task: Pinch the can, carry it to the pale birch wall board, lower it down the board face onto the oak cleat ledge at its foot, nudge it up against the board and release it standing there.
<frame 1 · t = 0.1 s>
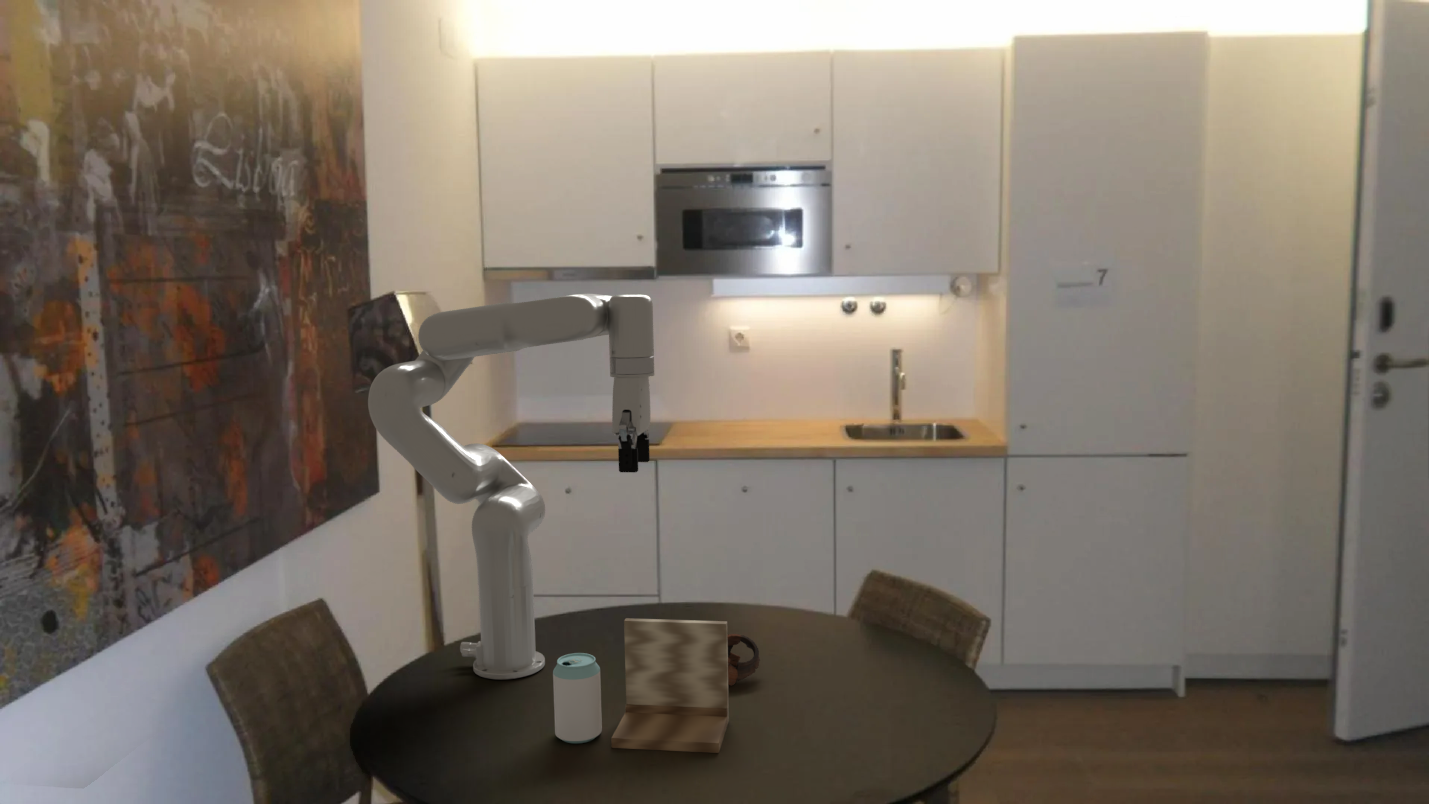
hand: (634, 466, 179), 37 cm above the table, tool pointing down, fingers open, 9 cm apart
vr controller: (725, 676, 181), on the table
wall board: (677, 719, 163), on the table
can: (578, 736, 158), on the table
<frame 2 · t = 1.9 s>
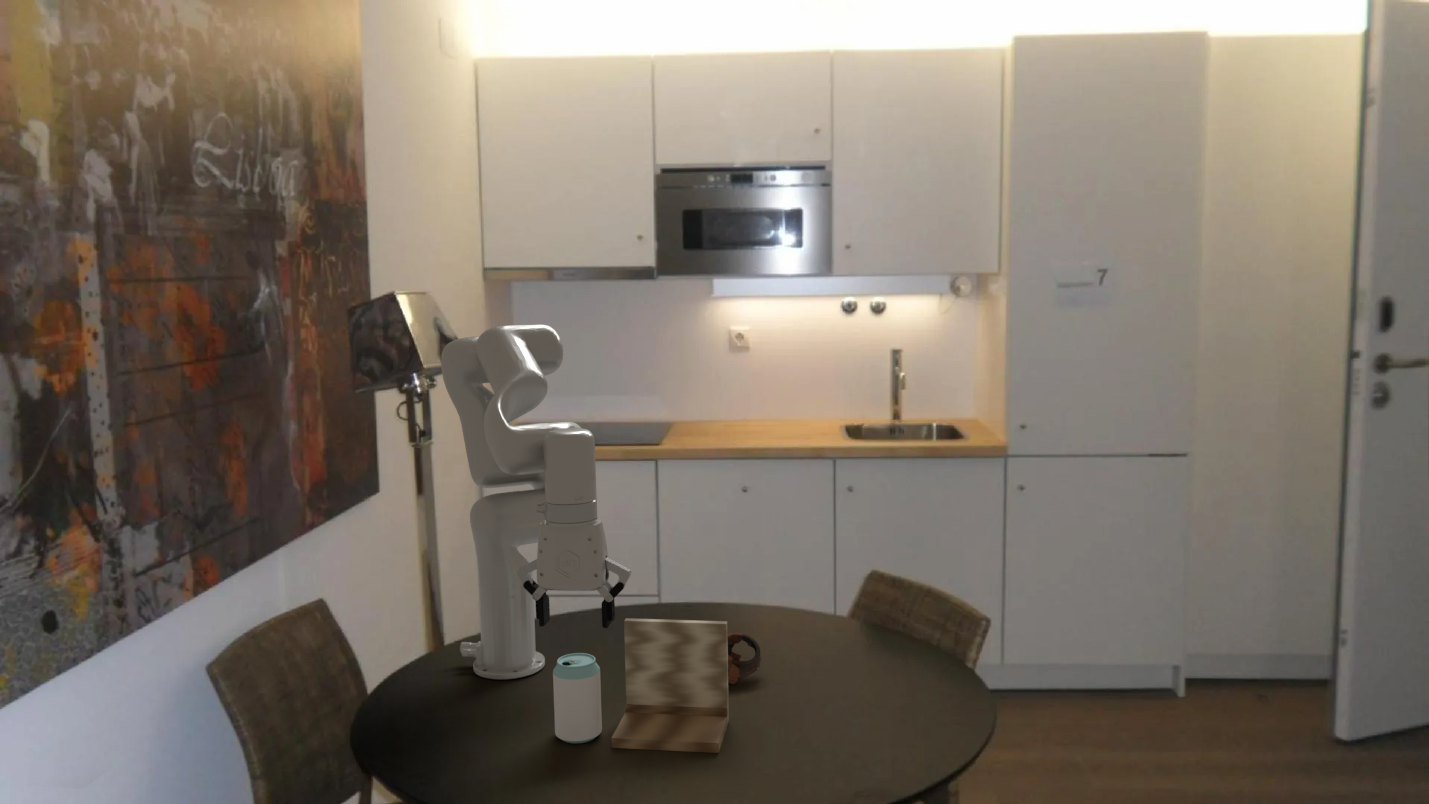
hand: (575, 624, 156), 17 cm above the table, tool pointing down, fingers open, 9 cm apart
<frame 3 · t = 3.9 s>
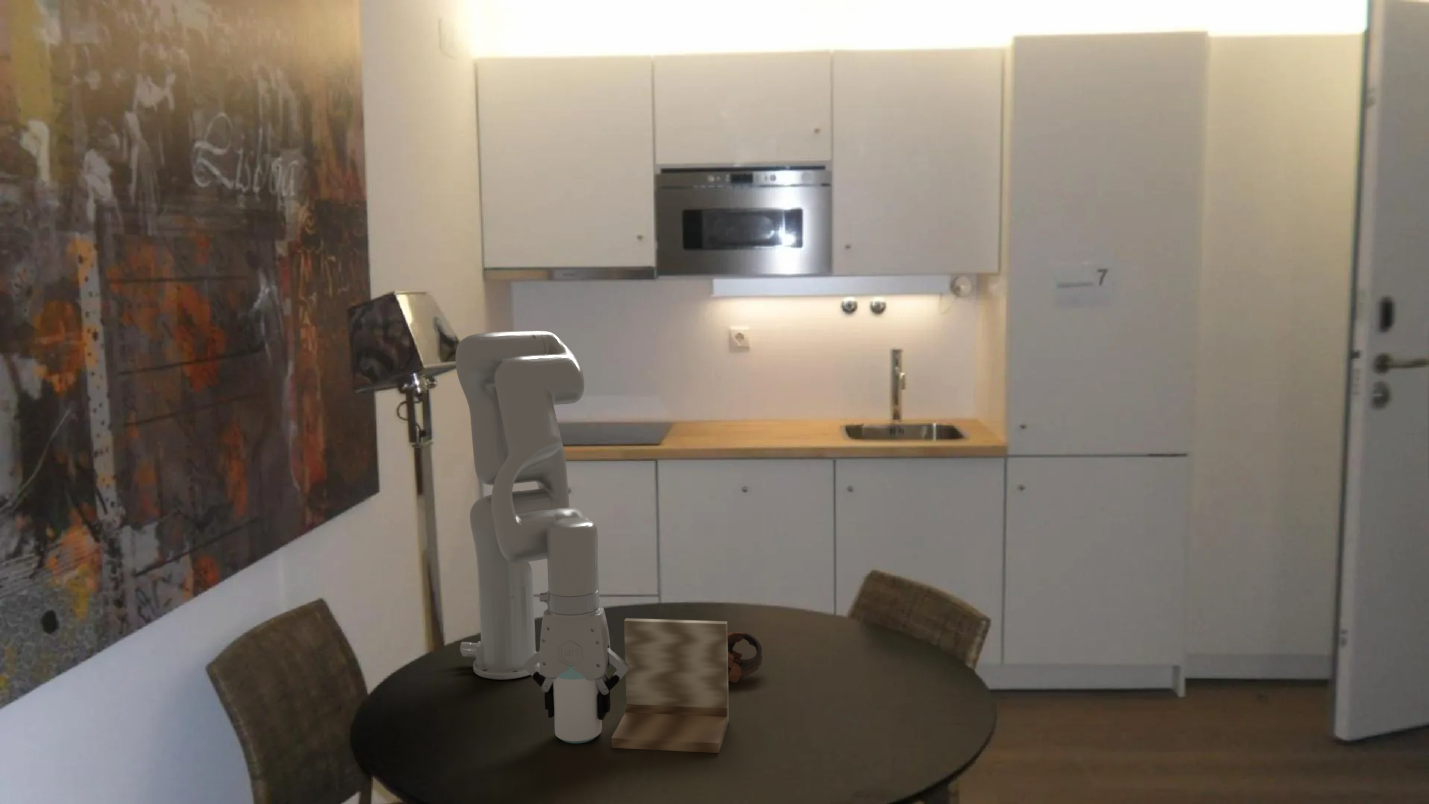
hand: (578, 714, 158), 3 cm above the table, tool pointing down, fingers closed on can, 7 cm apart
can: (578, 736, 158), on the table, touching gripper
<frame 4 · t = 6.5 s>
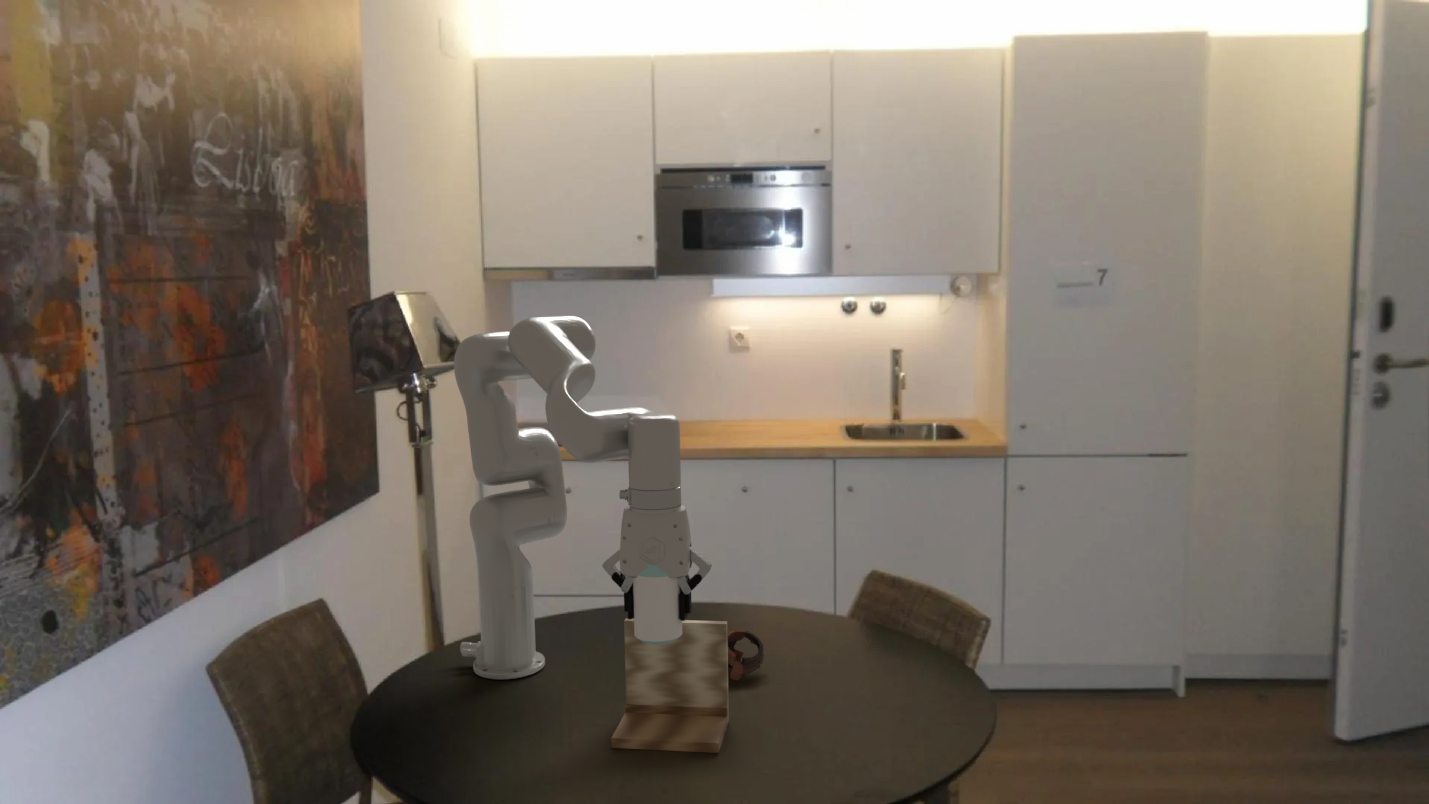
hand: (658, 616, 153), 19 cm above the table, tool pointing down, fingers closed on can, 7 cm apart
can: (658, 639, 154), point 16 cm above the table, touching gripper
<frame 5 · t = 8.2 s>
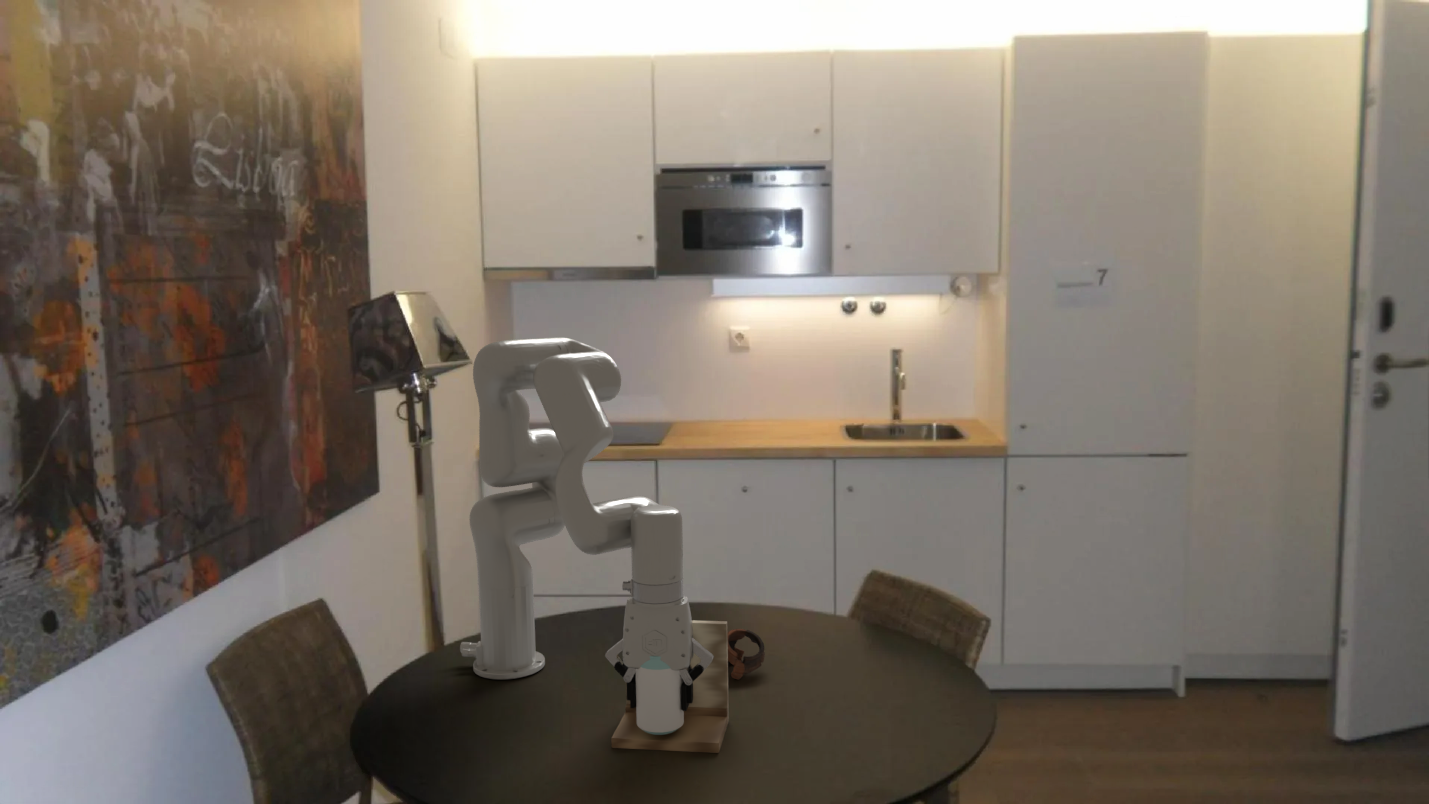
hand: (660, 705, 155), 6 cm above the table, tool pointing down, fingers closed on can, 7 cm apart
can: (660, 727, 156), point 2 cm above the table, touching gripper
when the fingers open (6 cm above the table, at t = 9.4 s): can stays where it is, resting on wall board.
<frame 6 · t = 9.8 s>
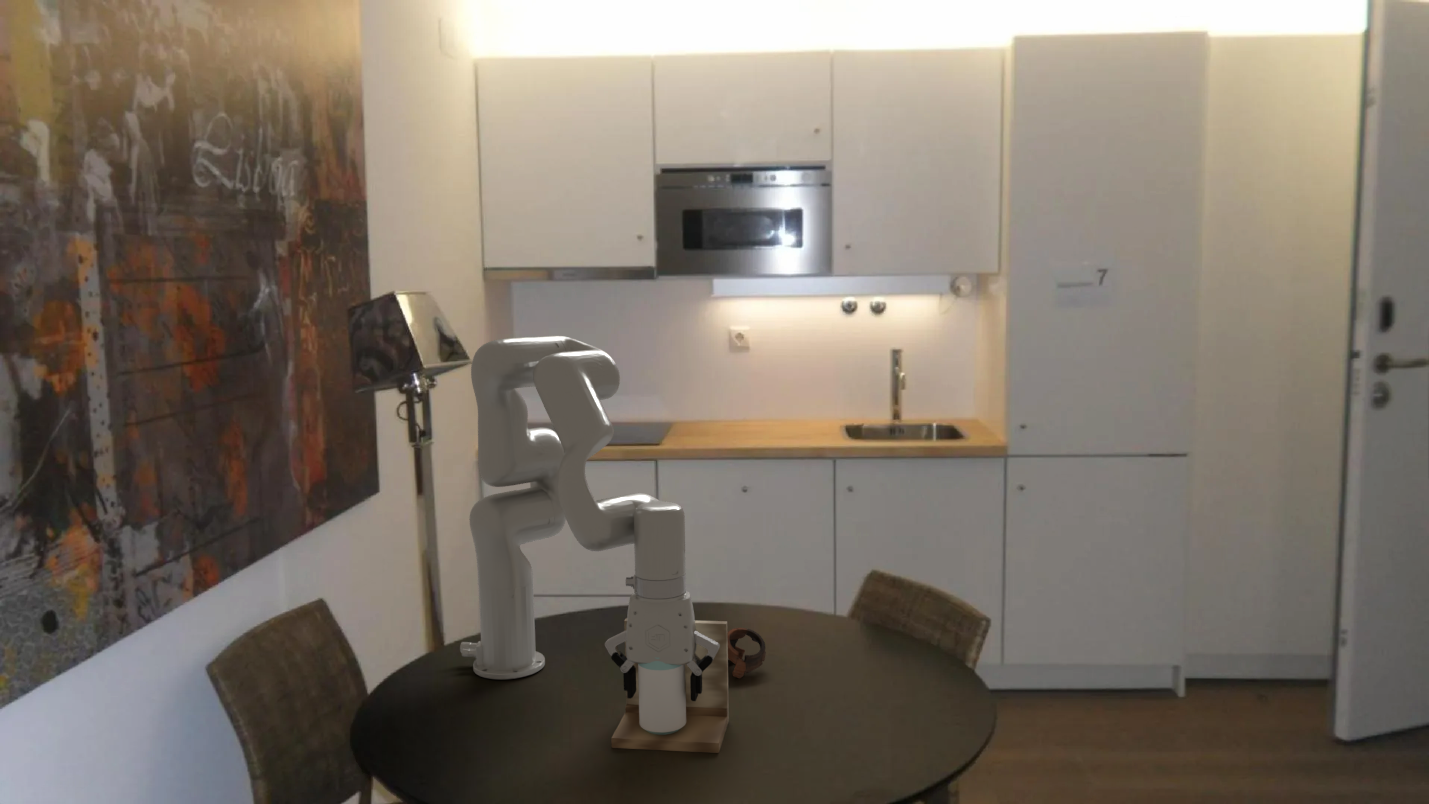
hand: (663, 696, 157), 6 cm above the table, tool pointing down, fingers open, 9 cm apart
can: (663, 727, 157), point 1 cm above the table, touching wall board
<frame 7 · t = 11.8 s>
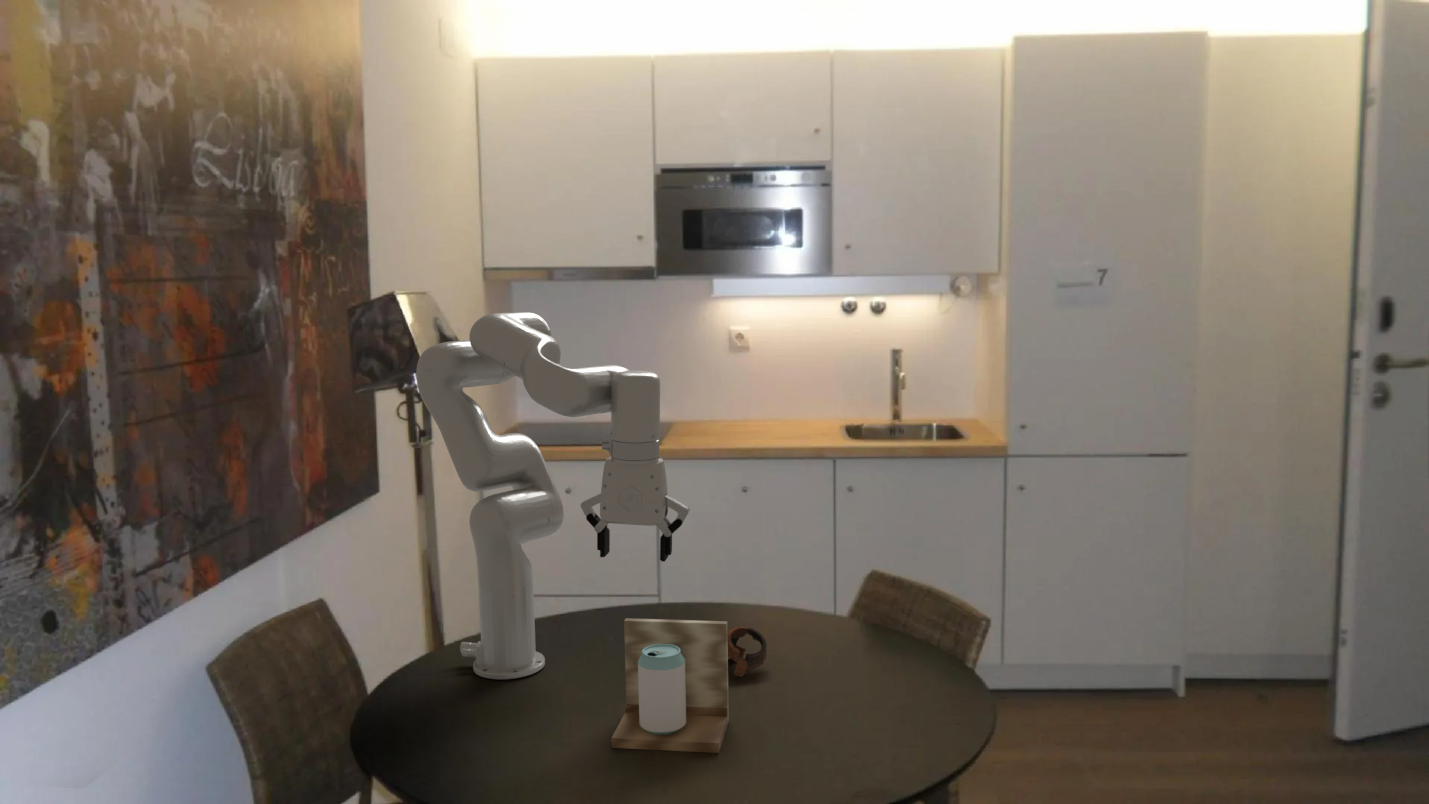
hand: (634, 556, 165), 25 cm above the table, tool pointing down, fingers open, 9 cm apart
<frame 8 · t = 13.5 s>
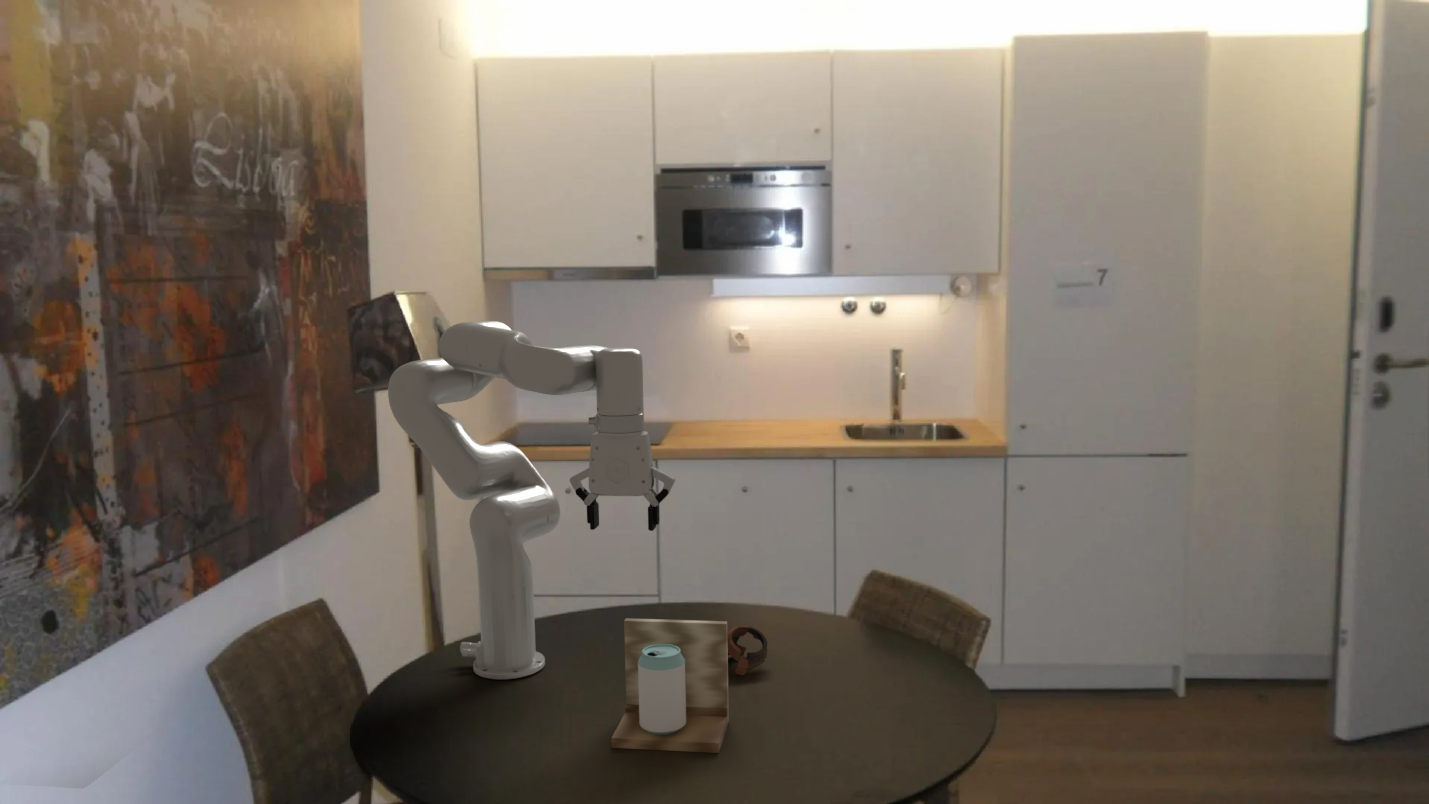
hand: (623, 528, 170), 28 cm above the table, tool pointing down, fingers open, 9 cm apart
at the end: can inside the target area on the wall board (1.2 cm from its centre), point 1.3 cm above the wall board's base; can tilted 0°; the gripper is holding nothing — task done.
